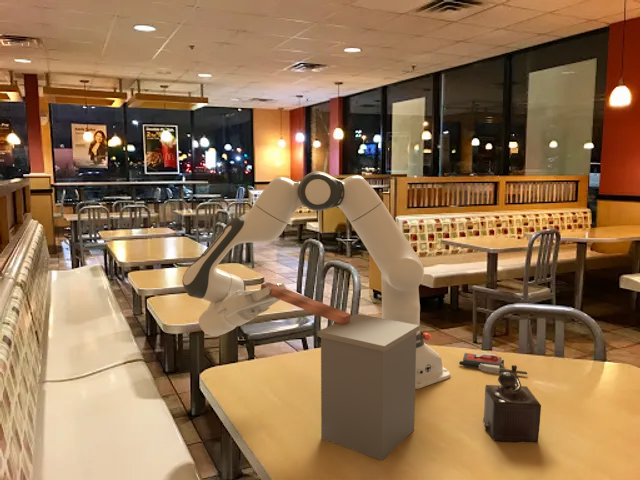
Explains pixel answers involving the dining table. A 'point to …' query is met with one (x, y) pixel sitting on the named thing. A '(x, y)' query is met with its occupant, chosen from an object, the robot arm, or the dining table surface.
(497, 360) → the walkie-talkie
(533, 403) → the manual coffee grinder
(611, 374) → the dining table surface
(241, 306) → the robot arm
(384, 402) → the shelf block
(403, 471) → the dining table surface
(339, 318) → the copper-colored stick
